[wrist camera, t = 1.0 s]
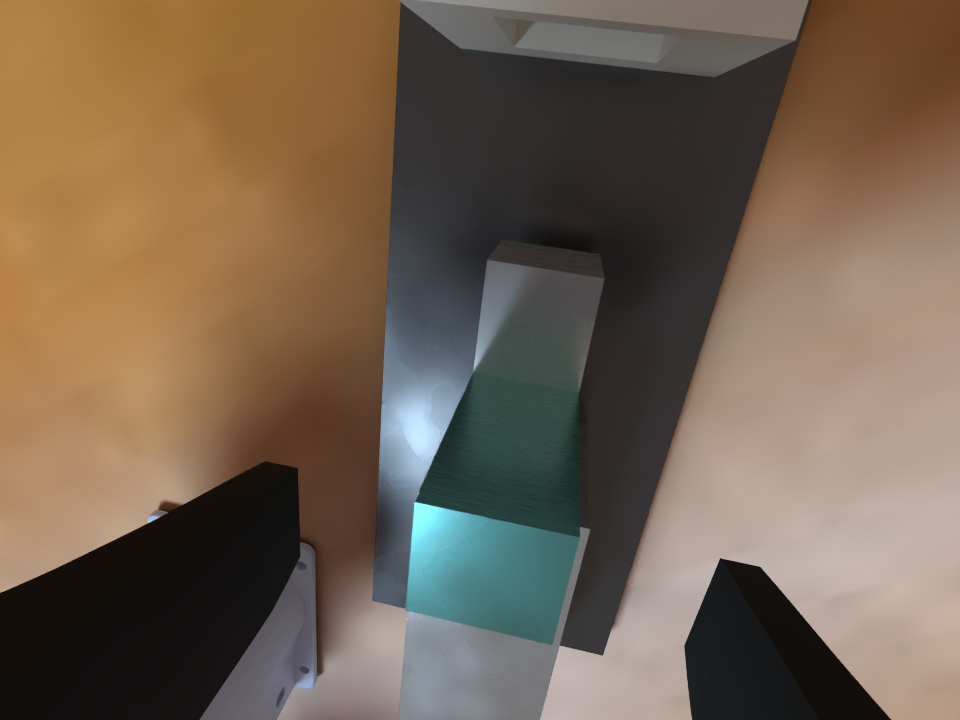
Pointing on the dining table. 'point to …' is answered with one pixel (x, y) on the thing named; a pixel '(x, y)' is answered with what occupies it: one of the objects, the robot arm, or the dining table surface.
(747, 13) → the socket
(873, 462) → the dining table surface
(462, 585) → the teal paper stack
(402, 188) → the grey long angular block
